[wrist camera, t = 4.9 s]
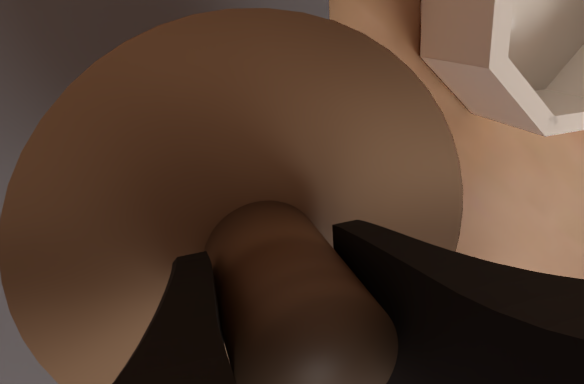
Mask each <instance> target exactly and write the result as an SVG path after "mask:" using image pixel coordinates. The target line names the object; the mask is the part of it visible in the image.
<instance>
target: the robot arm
mask: <svg viewBox="0 0 584 384" xmlns="http://www.w3.org/2000/svg"><path fill="white" fill-rule="evenodd" d="M332 231H333V249H334V250H335V251H336V252H337V254H338V255H339V256H340V257H341V258H342V260H343V261H344V262H345V263H346V264H347V266H348V267H349V268H350V269H351V270H352V272H353V273H354V274H355V275H356V277H357V278H358V279H359V280H360V281H361V283H362V284H363V285H364V286H365V287H366V289H367V290H368V291H369V292H370V293H371V295H372V296H373V297H374V298H375V300H376V301H377V302H378V303H379V304H380V306H381V307H382V308H383V309H384V310H385V312H386V313H387V314H388V315H389V317H390V318H391V320H392V322H393V324H394V326H395V329H396V332H397V337H398V355H397V359H396V364H395V366H394V369H393V372H392V374H391V376H390V378H389V380H388V382H387V383H386V384H584V279H577V278H570V277H563V276H557V275H550V274H545V273H539V272H534V271H529V270H524V269H520V268H515V267H511V266H506V265H502V264H497V263H493V262H489V261H485V260H482V259H478V258H475V257H471V256H468V255H464V254H461V253H458V252H454V251H451V250H448V249H445V248H442V247H439V246H436V245H433V244H430V243H427V242H424V241H421V240H418V239H415V238H413V237H410V236H407V235H404V234H401V233H399V232H396V231H393V230H390V229H388V228H385V227H382V226H379V225H376V224H373V223H370V222H366V221H362V220H353V221H348V222H343V223H338V224H333V225H332ZM112 384H236V381H235V378H234V375H233V372H232V369H231V366H230V363H229V360H228V356H227V353H226V350H225V345H224V340H223V336H222V330H221V323H220V315H219V308H218V301H217V295H216V288H215V282H214V276H213V270H212V263H211V260H210V258H209V256H208V254H207V252H206V251H204V252H199V253H194V254H189V255H184V256H180V257H177V258H176V259H175V260H174V262H173V263H172V270H171V274H170V277H169V280H168V283H167V286H166V289H165V291H164V294H163V296H162V298H161V301H160V303H159V305H158V308H157V310H156V312H155V314H154V316H153V318H152V320H151V322H150V324H149V326H148V328H147V329H146V331H145V333H144V335H143V337H142V339H141V341H140V342H139V344H138V346H137V347H136V349H135V351H134V352H133V354H132V356H131V357H130V359H129V360H128V362H127V363H126V365H125V366H124V368H123V369H122V371H121V372H120V374H119V375H118V376H117V378H116V379H115V381H114V382H113V383H112Z"/></svg>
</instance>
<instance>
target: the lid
mask: <svg viewBox="0 0 584 384" xmlns="http://www.w3.org/2000/svg"><path fill="white" fill-rule="evenodd" d="M462 211H463V185H462V178H461V170H460V162H459V158H458V154H457V151H456V147H455V143H454V140H453V136H452V134H451V131H450V129H449V127H448V124H447V122H446V120H445V118H444V115H443V113H442V111H441V110H440V108H439V106H438V105H437V103H436V101H435V100H434V98H433V97H432V95H431V93H430V92H429V90H428V89H427V88H426V86H425V85H424V84H423V83H422V82H421V81H420V79H419V78H418V77H417V76H416V75H415V73H414V72H413V71H412V70H411V69H410V68H409V67H408V66H407V65H406V64H405V63H403V62H402V61H401V60H400V59H399V58H398V57H397V56H395V55H394V54H393V53H392V52H391V51H390V50H388V49H387V48H385V47H384V46H382V45H380V44H379V43H377V42H376V41H374V40H373V39H371V38H370V37H368V36H366V35H365V34H363V33H361V32H358V31H356V30H354V29H352V28H349V27H347V26H345V25H343V24H340V23H338V22H336V21H333V20H329V19H326V18H322V17H318V16H315V15H311V14H307V13H304V12H296V11H288V10H280V9H272V8H240V9H223V10H217V11H211V12H205V13H199V14H193V15H189V16H186V17H183V18H180V19H177V20H174V21H170V22H167V23H164V24H161V25H158V26H156V27H154V28H152V29H150V30H148V31H145V32H143V33H141V34H139V35H137V36H135V37H133V38H131V39H129V40H127V41H125V42H124V43H122V44H121V45H119V46H118V47H116V48H115V49H113V50H112V51H110V52H109V53H107V54H106V55H104V56H103V57H101V58H100V59H98V60H97V61H95V62H94V63H93V64H92V65H91V66H90V67H89V68H87V69H86V70H85V71H84V72H83V73H82V74H81V75H80V76H79V77H77V78H76V79H75V80H74V81H73V82H72V83H71V84H70V85H69V86H68V87H67V88H66V89H65V91H64V92H63V93H62V94H61V95H60V97H59V98H58V99H57V100H56V101H55V103H54V104H53V105H52V106H51V107H50V109H49V110H48V111H47V112H46V113H45V115H44V116H43V117H42V118H41V120H40V121H39V123H38V125H37V126H36V128H35V130H34V131H33V133H32V135H31V136H30V138H29V140H28V141H27V143H26V145H25V146H24V148H23V150H22V151H21V154H20V156H19V159H18V161H17V164H16V166H15V168H14V171H13V173H12V176H11V178H10V181H9V183H8V187H7V191H6V195H5V200H4V204H3V208H2V213H1V217H0V273H1V282H2V286H3V290H4V293H5V297H6V300H7V304H8V308H9V311H10V314H11V316H12V318H13V320H14V322H15V324H16V327H17V329H18V331H19V333H20V335H21V337H22V339H23V341H24V342H25V344H26V345H27V347H28V348H29V349H30V351H31V352H32V354H33V355H34V357H35V358H36V360H37V361H38V363H39V364H40V365H41V366H42V367H43V368H44V369H45V370H46V371H47V372H48V373H49V374H50V375H51V376H52V378H53V379H54V380H55V381H56V382H57V383H58V384H112V383H113V382H114V381H115V379H116V378H117V376H118V375H119V374H120V372H121V371H122V369H123V368H124V366H125V365H126V363H127V362H128V360H129V359H130V357H131V356H132V354H133V352H134V351H135V349H136V347H137V346H138V344H139V342H140V341H141V339H142V337H143V335H144V333H145V331H146V329H147V328H148V326H149V324H150V322H151V320H152V318H153V316H154V314H155V312H156V310H157V308H158V305H159V303H160V301H161V298H162V296H163V294H164V291H165V289H166V286H167V283H168V280H169V277H170V274H171V270H172V263H173V262H174V260H175V259H176V258H177V257H180V256H184V255H189V254H194V253H199V252H204V251H206V252H207V254H208V256H209V258H210V260H211V263H212V270H213V276H214V282H215V288H216V295H217V301H218V308H219V315H220V323H221V330H222V336H223V340H224V345H225V350H226V353H227V356H228V360H229V363H230V366H231V369H232V372H233V375H234V378H235V381H236V384H386V383H387V382H388V380H389V378H390V376H391V374H392V372H393V369H394V366H395V364H396V359H397V355H398V337H397V332H396V329H395V326H394V324H393V322H392V320H391V318H390V317H389V315H388V314H387V313H386V312H385V310H384V309H383V308H382V307H381V306H380V304H379V303H378V302H377V301H376V300H375V298H374V297H373V296H372V295H371V293H370V292H369V291H368V290H367V289H366V287H365V286H364V285H363V284H362V283H361V281H360V280H359V279H358V278H357V277H356V275H355V274H354V273H353V272H352V270H351V269H350V268H349V267H348V266H347V264H346V263H345V262H344V261H343V260H342V258H341V257H340V256H339V255H338V254H337V252H336V251H335V250H334V249H333V231H332V225H333V224H338V223H343V222H348V221H353V220H362V221H366V222H370V223H373V224H376V225H379V226H382V227H385V228H388V229H390V230H393V231H396V232H399V233H401V234H404V235H407V236H410V237H413V238H415V239H418V240H421V241H424V242H427V243H430V244H433V245H436V246H439V247H442V248H445V249H448V250H451V251H454V252H455V251H456V247H457V243H458V239H459V235H460V227H461V219H462Z"/></svg>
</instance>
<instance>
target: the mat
mask: <svg viewBox="0 0 584 384" xmlns="http://www.w3.org/2000/svg"><path fill="white" fill-rule="evenodd" d="M240 8H272V9H280V10H288V11H296V12H304V13H307V14H311V15H315V16H318V17H322V18H326V19H329V0H0V217H1V213H2V208H3V204H4V200H5V195H6V191H7V187H8V183H9V181H10V178H11V176H12V173H13V171H14V168H15V166H16V164H17V161H18V159H19V156H20V154H21V151H22V150H23V148H24V146H25V145H26V143H27V141H28V140H29V138H30V136H31V135H32V133H33V131H34V130H35V128H36V126H37V125H38V123H39V121H40V120H41V118H42V117H43V116H44V115H45V113H46V112H47V111H48V110H49V109H50V107H51V106H52V105H53V104H54V103H55V101H56V100H57V99H58V98H59V97H60V95H61V94H62V93H63V92H64V91H65V89H66V88H67V87H68V86H69V85H70V84H71V83H72V82H73V81H74V80H75V79H76V78H77V77H79V76H80V75H81V74H82V73H83V72H84V71H85V70H86V69H87V68H89V67H90V66H91V65H92V64H93V63H94V62H95V61H97V60H98V59H100V58H101V57H103V56H104V55H106V54H107V53H109V52H110V51H112V50H113V49H115V48H116V47H118V46H119V45H121V44H122V43H124V42H125V41H127V40H129V39H131V38H133V37H135V36H137V35H139V34H141V33H143V32H145V31H148V30H150V29H152V28H154V27H156V26H158V25H161V24H164V23H167V22H170V21H174V20H177V19H180V18H183V17H186V16H189V15H193V14H199V13H205V12H211V11H217V10H223V9H240ZM0 384H58V383H57V382H56V381H55V380H54V379H53V378H52V376H51V375H50V374H49V373H48V372H47V371H46V370H45V369H44V368H43V367H42V366H41V365H40V364H39V363H38V361H37V360H36V358H35V357H34V355H33V354H32V352H31V351H30V349H29V348H28V347H27V345H26V344H25V342H24V341H23V339H22V337H21V335H20V333H19V331H18V329H17V327H16V324H15V322H14V320H13V318H12V316H11V314H10V311H9V308H8V304H7V300H6V297H5V293H4V290H3V286H2V282H1V273H0Z"/></svg>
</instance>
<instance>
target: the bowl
mask: <svg viewBox="0 0 584 384" xmlns="http://www.w3.org/2000/svg"><path fill="white" fill-rule="evenodd" d="M420 8H421V46H420V57H421V58H422V59H423V60H424V61H425V62H426V64H427V65H428V66H429V67H430V68H431V69H432V70H433V71H434V72H435V73H436V75H437V76H438V77H439V78H440V79H441V80H442V81H443V82H444V84H445V85H446V86H447V87H448V88H449V89H450V90H451V91H452V92H453V93H454V94H455V95H456V96H457V98H458V99H459V100H460V101H461V102H462V103H463V104H464V105H465V106H466V107H467V109H468V110H469V111H470V112H471V113H472V114H475V115H478V116H481V117H484V118H488V119H491V120H494V121H497V122H500V123H503V124H507V125H510V126H513V127H516V128H519V129H523V130H526V131H529V132H532V133H535V134H539V135H542V136H545V137H546V136H551V135H557V134H563V133H569V132H575V131H581V130H584V0H421V6H420Z"/></svg>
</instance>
